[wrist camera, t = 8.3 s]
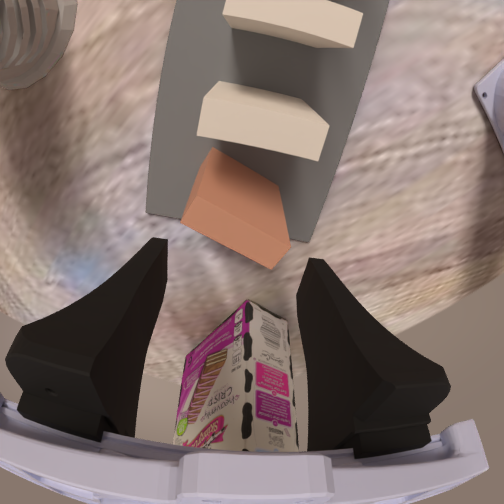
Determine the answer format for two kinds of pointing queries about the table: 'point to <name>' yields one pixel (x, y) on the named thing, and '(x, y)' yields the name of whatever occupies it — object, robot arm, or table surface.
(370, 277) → the table surface
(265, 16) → the domino
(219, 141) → the slate mat
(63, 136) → the table surface
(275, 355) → the candy bar box
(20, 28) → the french press
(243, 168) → the domino
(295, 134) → the domino
